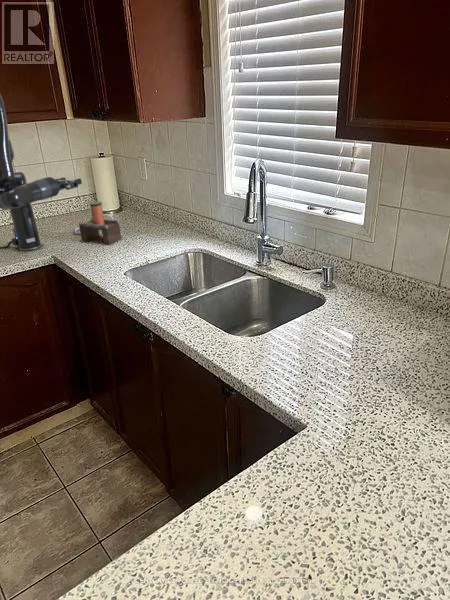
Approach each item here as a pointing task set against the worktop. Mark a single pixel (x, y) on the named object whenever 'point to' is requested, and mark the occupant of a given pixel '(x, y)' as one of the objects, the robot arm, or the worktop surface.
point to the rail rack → (108, 231)
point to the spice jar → (97, 213)
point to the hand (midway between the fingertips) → (72, 180)
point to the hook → (79, 228)
